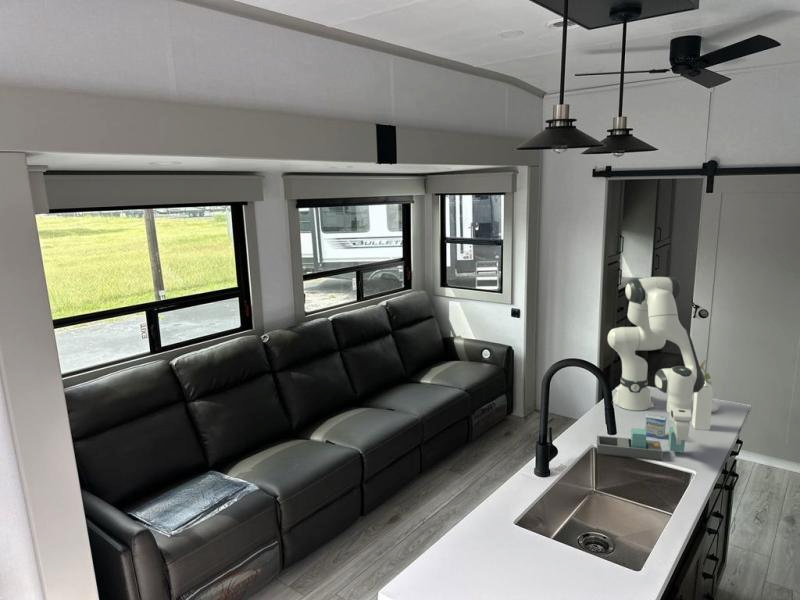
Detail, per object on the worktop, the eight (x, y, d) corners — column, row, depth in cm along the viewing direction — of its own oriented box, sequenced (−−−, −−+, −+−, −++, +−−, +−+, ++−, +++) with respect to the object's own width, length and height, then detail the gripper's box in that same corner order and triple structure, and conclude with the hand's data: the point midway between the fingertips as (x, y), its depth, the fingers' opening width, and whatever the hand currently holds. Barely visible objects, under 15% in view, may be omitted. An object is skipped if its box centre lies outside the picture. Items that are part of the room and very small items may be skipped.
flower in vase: (700, 402, 270) (703, 353, 265) (723, 410, 261) (728, 359, 256) (684, 409, 264) (687, 358, 258) (707, 417, 254) (712, 365, 249)
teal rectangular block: (668, 444, 226) (669, 426, 224) (681, 446, 225) (683, 427, 223) (670, 450, 222) (671, 432, 220) (684, 452, 220) (685, 433, 218)
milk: (694, 429, 243) (697, 381, 239) (691, 423, 249) (695, 376, 244) (710, 430, 242) (713, 382, 237) (707, 424, 247) (710, 377, 242)
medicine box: (644, 436, 239) (645, 417, 237) (645, 431, 243) (646, 413, 241) (664, 439, 235) (665, 420, 234) (665, 435, 239) (666, 416, 237)
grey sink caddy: (596, 444, 233) (597, 423, 231) (658, 450, 226) (660, 428, 224) (597, 454, 225) (598, 432, 223) (661, 460, 218) (663, 438, 216)
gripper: (666, 396, 230) (664, 427, 233) (674, 417, 211) (671, 451, 214) (683, 398, 228) (680, 429, 231) (692, 419, 209) (690, 453, 212)
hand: (676, 440), depth 222 cm, fingers closed on teal rectangular block, 5 cm apart
